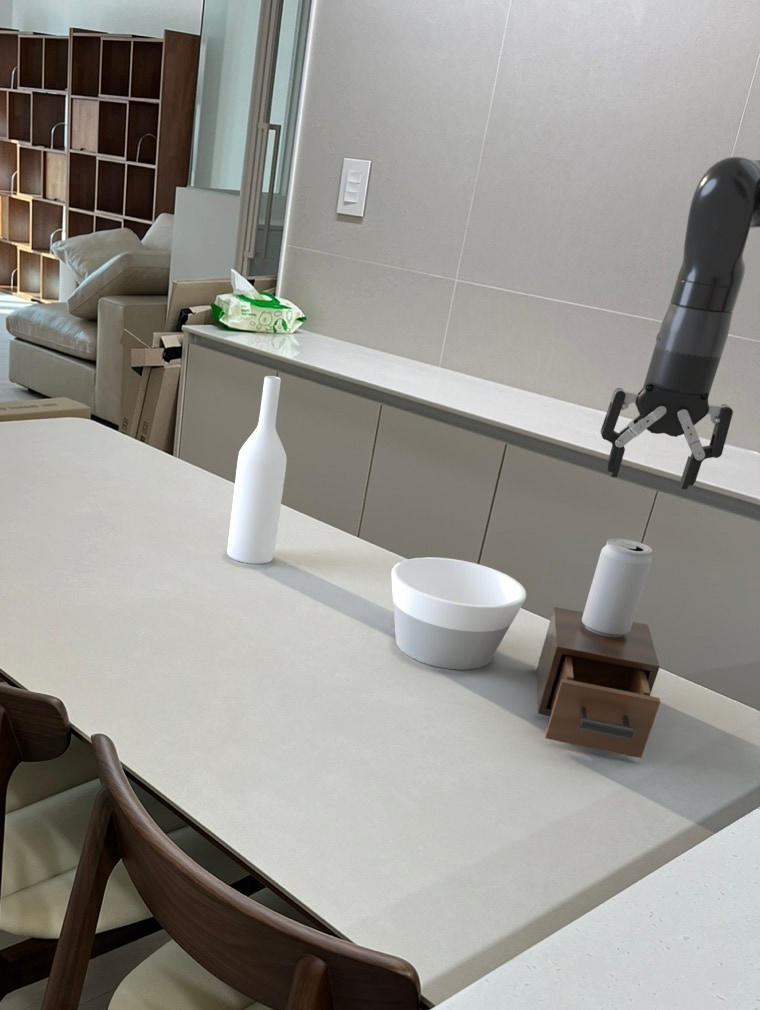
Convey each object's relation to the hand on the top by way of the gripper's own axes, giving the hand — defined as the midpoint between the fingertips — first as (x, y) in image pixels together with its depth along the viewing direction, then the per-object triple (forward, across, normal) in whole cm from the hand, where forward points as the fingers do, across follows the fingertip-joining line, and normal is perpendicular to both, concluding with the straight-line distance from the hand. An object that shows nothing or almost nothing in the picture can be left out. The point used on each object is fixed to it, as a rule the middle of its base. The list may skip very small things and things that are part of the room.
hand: (648, 481), depth 133 cm
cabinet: (+30, 0, -2) cm, 30 cm away
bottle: (+30, -55, +30) cm, 70 cm away
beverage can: (+20, 0, 0) cm, 21 cm away
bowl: (+30, -20, +6) cm, 37 cm away
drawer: (+29, 0, -14) cm, 32 cm away
